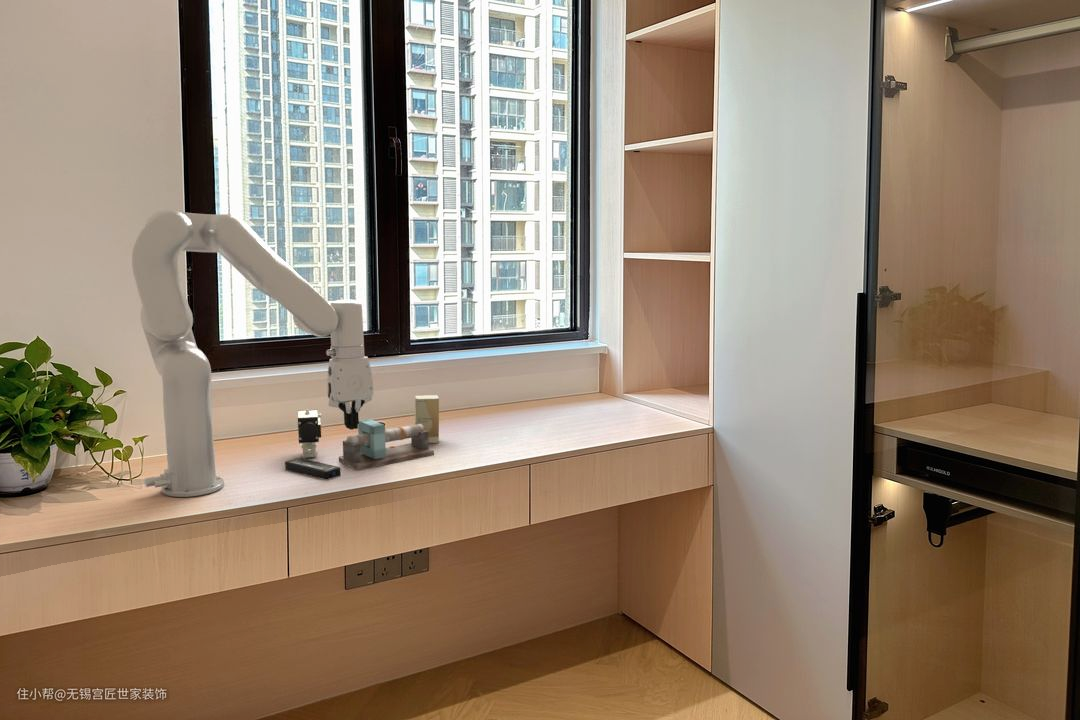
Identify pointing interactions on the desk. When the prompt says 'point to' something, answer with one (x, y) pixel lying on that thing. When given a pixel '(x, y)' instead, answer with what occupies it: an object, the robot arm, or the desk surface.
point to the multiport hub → (312, 468)
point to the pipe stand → (393, 453)
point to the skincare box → (428, 415)
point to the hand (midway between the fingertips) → (351, 428)
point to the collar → (373, 438)
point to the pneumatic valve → (309, 431)
